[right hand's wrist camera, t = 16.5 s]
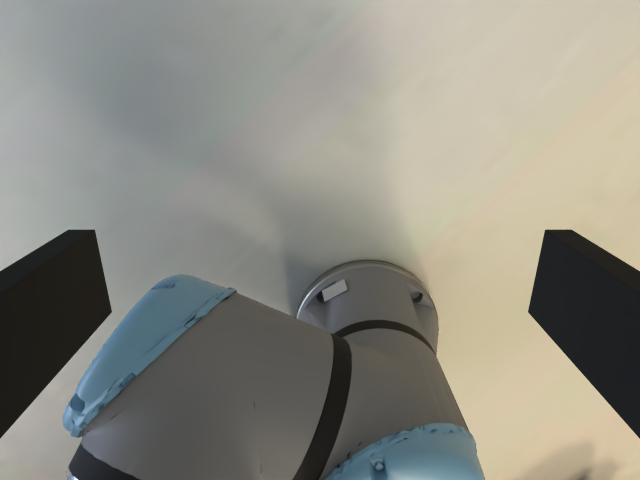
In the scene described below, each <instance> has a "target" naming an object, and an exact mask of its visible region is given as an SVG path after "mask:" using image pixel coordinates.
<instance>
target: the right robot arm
mask: <svg viewBox="0 0 640 480" xmlns="http://www.w3.org/2000/svg"><path fill="white" fill-rule="evenodd" d="M236 292H237V290H236V289H234V288H227V289H226V288H224V287H221V286H218V285H215V284H212V283H210V282H207V281H204V280H201V279H199V278H196V277H193V276H190V275H174V276H171V277H169V278H166V279H164V280H163V281H161V282H159V283H158V284H156V285H155V286H154V287H153V288H152V289H151V290H150V291H149V292H147V293H146V294H145V295H144V296H143V297H142V298H141V299H140V301H139V302H138V303H137V304H136V305H135V306H134V307H133V308H132V309H131V311H130V312H129V313H128V314H127V315H126V317H125V318H124V319H123V320H122V322H121V323H120V324H119V325H118V327H117V328H116V329H115V331H114V332H113V333H112V334H111V336H110V337H109V339H108V340H107V341H106V343H105V344H104V345H103V347H102V348H101V350H100V351H99V353H98V354H97V356H96V357H95V359H94V360H93V361H92V363H91V365H90V366H89V368H88V369H87V371H86V372H85V374H84V376H83V377H82V379H81V381H80V382H79V384H78V386H77V389H76V393H75V394H74V396H73V397H72V399H71V401H70V402H69V404H68V405H67V407H66V410H65V412H64V415H63V426H64V427H65V428H66V429H67V430H68V431H70V434H71V436H73V437H77V438H79V437H81V436H83V437H82V441H81V443H80V445H79V447H78V449H77V451H76V453H75V455H74V457H73V459H72V461H71V463H70V464H69V466H68V468H67V470H66V477H67V480H485V477H484V474H483V471H482V468H481V465H480V462H479V459H478V457H477V450H476V443H475V440H474V438H473V436H472V435H471V433H470V432H469V430H468V428H467V425H466V423H465V421H464V418H463V416H462V414H461V412H460V409H459V407H458V405H457V403H456V400H455V398H454V396H453V393H452V391H451V389H450V387H449V384H448V382H447V380H446V377H445V375H444V373H443V371H442V368H441V366H440V364H439V362H438V359H437V357H436V352H437V342H438V317H437V312H436V309H435V306H434V304H433V301H432V299H431V297H430V295H429V293H428V292H427V290H426V288H425V287H424V286H423V284H422V283H421V282H420V281H419V280H418V279H417V278H416V277H415V276H413V275H412V274H411V273H409V272H408V271H406V270H404V269H402V268H400V267H398V266H396V265H393V264H390V263H386V262H381V261H369V260H367V261H356V262H351V263H346V264H343V265H340V266H338V267H335V268H333V269H331V270H329V271H328V272H326V273H325V274H323V275H322V276H320V277H319V278H318V279H317V280H316V281H315V282H314V283H313V284H312V285H311V286H310V287H309V288H308V289H307V291H306V292H305V294H304V296H303V298H302V299H301V302H300V304H299V307H298V311H297V317H296V318H294V317H292V316H290V315H287V314H285V313H283V312H280V311H278V310H276V309H273V308H271V307H268V306H266V305H264V304H261V303H259V302H257V301H254V300H252V299H250V298H247V297H245V296H243V295H240V294H238V293H236ZM111 312H112V310H111V305H110V301H109V296H108V291H107V286H106V281H105V277H104V272H103V267H102V262H101V257H100V253H99V248H98V243H97V238H96V233H95V230H67V231H66V232H64V233H62V234H61V235H59V236H57V237H56V238H54V239H53V240H51V241H49V242H48V243H46V244H44V245H43V246H41V247H39V248H38V249H36V250H35V251H33V252H31V253H30V254H28V255H26V256H25V257H23V258H21V259H20V260H18V261H16V262H15V263H13V264H12V265H10V266H8V267H7V268H5V269H3V270H2V271H0V438H1V437H2V436H3V435H4V434H5V432H6V431H7V430H8V429H9V428H10V427H11V426H12V425H13V423H14V422H15V421H16V420H17V419H18V418H19V417H20V415H21V414H22V413H23V412H24V411H25V410H26V409H27V408H28V406H29V405H30V404H31V403H32V402H33V401H34V400H35V398H36V397H37V396H38V395H39V394H40V393H41V392H42V391H43V389H44V388H45V387H46V386H47V385H48V384H49V383H50V381H51V380H52V379H53V378H54V377H55V376H56V375H57V374H58V372H59V371H60V370H61V369H62V368H63V367H64V366H65V365H66V363H67V362H68V361H69V360H70V359H71V358H72V357H73V355H74V354H75V353H76V352H77V351H78V350H79V349H80V348H81V346H82V345H83V344H84V343H85V342H86V341H87V340H88V338H89V337H90V336H91V335H92V334H93V333H94V332H95V331H96V329H97V328H98V327H99V326H100V325H101V324H102V323H103V321H104V320H105V319H106V318H107V317H108V316H109V315H110V314H111ZM528 312H529V314H530V315H531V316H532V317H533V318H534V319H535V320H536V321H537V323H538V324H539V325H540V326H541V327H542V328H543V329H544V331H545V332H546V333H547V334H548V335H549V336H550V337H551V338H552V340H553V341H554V342H555V343H556V344H557V345H558V346H559V348H560V349H561V350H562V351H563V352H564V353H565V354H566V355H567V357H568V358H569V359H570V360H571V361H572V362H573V363H574V365H575V366H576V367H577V368H578V369H579V370H580V371H581V372H582V374H583V375H584V376H585V377H586V378H587V379H588V380H589V381H590V383H591V384H592V385H593V386H594V387H595V388H596V389H597V391H598V392H599V393H600V394H601V395H602V396H603V397H604V398H605V400H606V401H607V402H608V403H609V404H610V405H611V406H612V408H613V409H614V410H615V411H616V412H617V413H618V414H619V415H620V417H621V418H622V419H623V420H624V421H625V422H626V423H627V425H628V426H629V427H630V428H631V429H632V430H633V431H634V432H635V434H636V435H637V436H638V437H639V438H640V271H638V270H637V269H635V268H633V267H632V266H630V265H628V264H627V263H625V262H623V261H622V260H620V259H619V258H617V257H615V256H614V255H612V254H610V253H609V252H607V251H605V250H604V249H602V248H601V247H599V246H597V245H596V244H594V243H592V242H591V241H589V240H587V239H586V238H584V237H583V236H581V235H579V234H578V233H576V232H574V231H573V230H545V233H544V238H543V243H542V248H541V253H540V257H539V262H538V267H537V272H536V277H535V281H534V286H533V291H532V296H531V301H530V305H529V310H528Z"/></svg>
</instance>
